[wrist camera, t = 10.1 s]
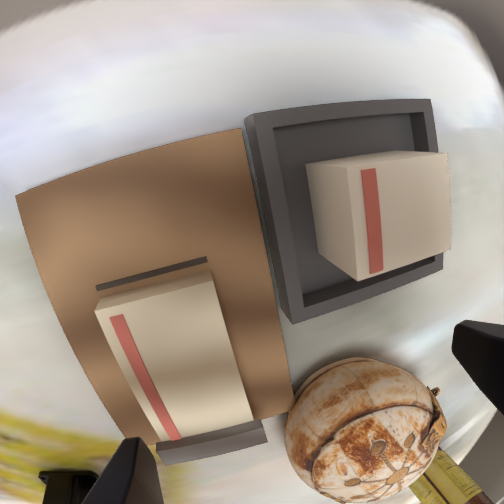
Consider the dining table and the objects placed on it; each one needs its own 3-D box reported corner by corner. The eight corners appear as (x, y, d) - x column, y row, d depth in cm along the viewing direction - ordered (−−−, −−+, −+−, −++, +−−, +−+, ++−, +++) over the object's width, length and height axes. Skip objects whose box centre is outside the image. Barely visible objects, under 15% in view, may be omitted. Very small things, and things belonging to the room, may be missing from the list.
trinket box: (375, 457, 28) (410, 507, 20) (244, 464, 23) (267, 538, 16) (443, 355, 25) (498, 401, 18) (308, 337, 21) (366, 417, 13)
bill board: (290, 398, 22) (306, 431, 18) (133, 435, 20) (131, 471, 17) (236, 129, 16) (251, 122, 13) (24, 192, 14) (-7, 202, 11)
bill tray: (424, 260, 21) (442, 269, 19) (281, 308, 19) (292, 324, 17) (410, 101, 17) (430, 99, 16) (243, 118, 16) (252, 114, 14)
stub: (402, 229, 19) (451, 249, 15) (318, 252, 18) (358, 282, 14) (395, 150, 17) (448, 153, 13) (305, 163, 17) (347, 167, 12)
